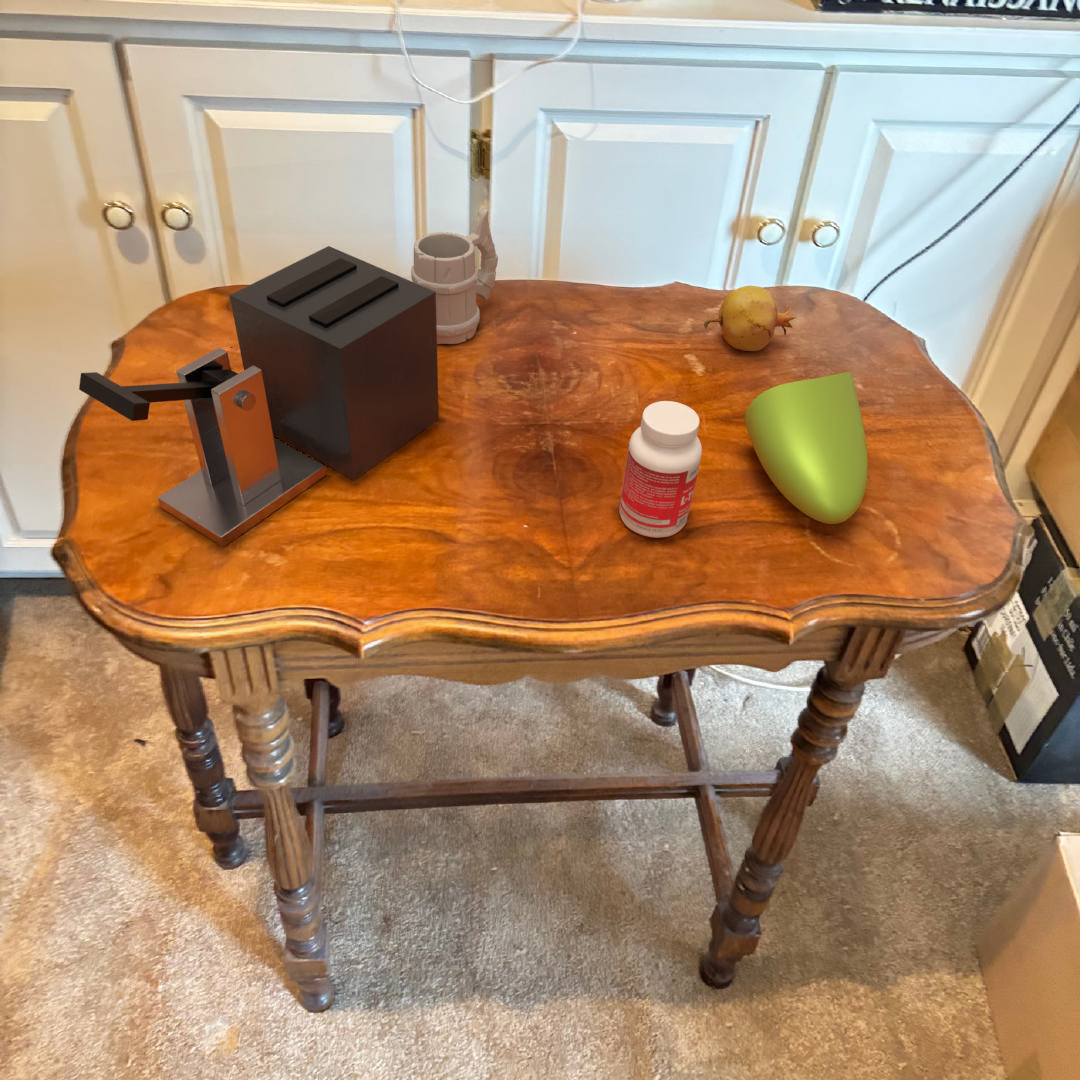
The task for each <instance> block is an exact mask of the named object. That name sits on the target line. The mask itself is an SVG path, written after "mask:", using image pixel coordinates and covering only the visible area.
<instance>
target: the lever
mask: <svg viewBox="0 0 1080 1080" xmlns="http://www.w3.org/2000/svg"><path fill="white" fill-rule="evenodd" d="M237 374H239V373H238V372H235V371H234V370H232V369H231V370H230V369H227V370H206V371H203V373H202V379H201V382H186V383H179V382H172V383H171V382H170V383H153V384H138V385H122V386H121V385H120V384H118V383H117V382H115V381H113V380H111V379H109V378H107V377H106V376H104V375H102V373H99V372H96V371H94V372H81V373H80V377H79V385H78V390H79V391H81V392H82V393H84V394H85V395H87V396H89V397H91V398H92V399H94V400H96V401H98V402H99V403H101V404H102V405H104V406H106V407H108V408H109V409H110V410H112V411H114V412H115V413H118V414H119V415H122V416H123V417H125V418H126V419H128V420H129V421H131V422H135V421H136V422H137V421H147V420H148V419H149V413H150V408H151V407H150V405H151V404H153V403H164V402H176V401H184V400H191V399H200V400H202V401H204V402H206V403H208V404H209V405H211V406H213V407H215V406H214V402H213V397H212V393H211V389H212V388H214V387H216V386H218V385H219V384H221V383H223V382H225V381H227V380H228V379H230V378H232V377H234V376H235V375H237Z"/></svg>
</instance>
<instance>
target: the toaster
mask: <svg viewBox="0 0 1080 1080" xmlns="http://www.w3.org/2000/svg"><path fill="white" fill-rule="evenodd" d="M229 300H230V305H231V310H232V314H233V320H234V321H233V322H234V327H235V330H236V331H235V332H236V336H237V341H238V346H239V351H240V357H241V363H242V368H243V371H244V370H246V369H248V368H250V367H251V366H256V367H258V368H260V369H261V370H262V374H263V380H264V385H265V391H266V397H267V402H268V408H269V414H270V419H271V425H272V430H273V436H274V438H275V439H277V440H279V441H281V442H283V443H284V444H286V445H288V446H290V447H292V448H293V449H295V450H297V451H299V452H301V453H302V454H304V455H306V456H308V457H310V458H311V459H313V460H315V461H317V462H319V463H321V464H322V465H324V466H327V467H328V468H331V469H333V470H334V471H336V472H338V473H340V474H341V475H343V476H345V477H347V478H348V479H351V480H352V481H354V482H355V481H356V480H358V479H359V478H360V477H362V476H363V475H364V474H366V473H367V472H368V471H370V470H371V469H373V468H374V467H376V466H377V465H378V464H380V463H381V462H382V461H384V460H385V459H386V458H388V457H389V456H391V455H392V454H393V453H395V452H396V451H397V450H399V449H400V448H402V447H403V446H404V445H405V444H407V443H409V442H410V441H411V440H412V439H414V438H415V437H416V436H419V434H421V433H423V431H425V430H426V429H428V428H429V427H431V426H432V425H433V424H435V423H436V422H437V421H439V420H440V414H439V413H440V412H439V375H438V374H439V371H438V344H437V324H436V292H435V291H433V290H430V289H428V288H426V287H423V286H421V285H419V284H416V283H414V282H413V281H412V280H409V279H407V278H404V277H402V276H399V275H398V274H395V273H392V272H391V271H388V270H386V269H384V268H382V267H379V266H376V265H374V264H372V263H370V262H368V261H365V260H362V259H360V258H358V257H356V256H353V255H351V254H349V253H346V252H345V251H341V250H340V249H337V248H334V247H332V246H330V245H328V246H326V247H323V248H321V249H319V250H317V251H315V252H313V253H311V254H309V255H307V256H305V257H303V258H301V259H299V260H298V261H296V262H293V263H291V264H289V265H287V266H286V267H285V266H284V267H283V268H282V269H279V270H277V271H275V272H273V273H271V274H269V275H267V276H265V277H262V278H261V279H259V280H257V281H255V282H252V283H251V284H249V285H247V286H245V287H243V288H241V289H238V290H237V291H235V292H233V293H230V294H229Z"/></svg>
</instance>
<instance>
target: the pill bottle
mask: <svg viewBox="0 0 1080 1080" xmlns="http://www.w3.org/2000/svg"><path fill="white" fill-rule="evenodd" d="M699 427H700V417H699V415H698V414H697V412H696V411H695V410H694V409H693V408H691V407H690V406H688V405H686V404H683V403H682V402H678V401H671V400H660V401H656V402H652V403H650V404H649V405H647V406H646V407H645V408H644V410H643V412H642V416H641V421H640V426H639V427H637V428H636V429H635V430H634V431H633V433H632V434H631V436H630V439H629V443H628V447H627V455H626V462H625V468H624V474H623V479H622V480H623V481H622V486H621V487H622V488H621V493H620V499H619V505H618V506H619V507H618V509H619V510H618V513H619V515H620V519H621V520H622V522H623V524H624V525H625V526H626V527H627V528H628V529H630V530H631V531H632V532H634V533H636V534H638V535H640V536H644V537H649V538H667V537H671V536H673V535H676V534H677V533H679V532H680V531H681V530H682V529H683V528H684V527H685V526H686V523H687V522H688V518H689V513H690V509H691V504H692V500H693V495H694V491H695V488H696V487H695V486H696V482H697V478H698V474H699V470H700V465H701V461H702V454H703V447H702V443H701V440H700V439H699V436H698V432H699V429H700V428H699Z"/></svg>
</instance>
